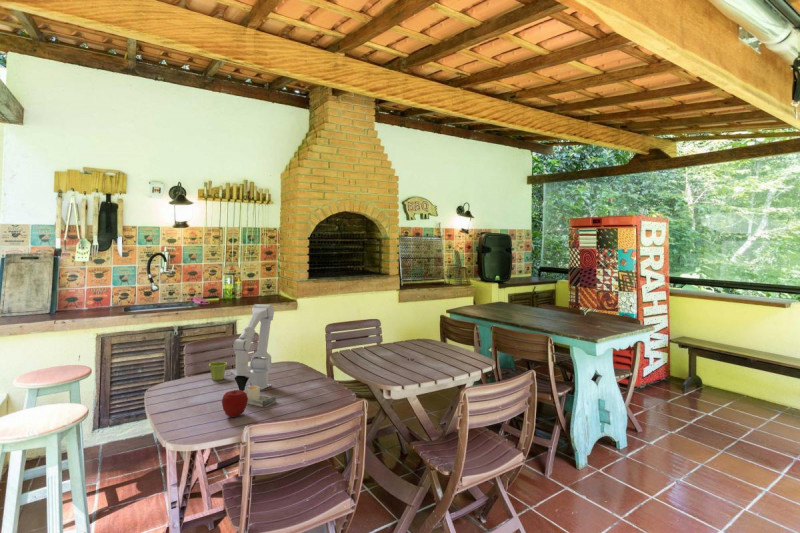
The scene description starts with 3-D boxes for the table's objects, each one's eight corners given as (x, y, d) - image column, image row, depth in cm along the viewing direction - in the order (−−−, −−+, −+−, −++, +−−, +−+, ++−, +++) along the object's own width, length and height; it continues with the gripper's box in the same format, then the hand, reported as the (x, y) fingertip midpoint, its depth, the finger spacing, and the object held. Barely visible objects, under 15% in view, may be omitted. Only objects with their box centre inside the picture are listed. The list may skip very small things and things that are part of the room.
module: (246, 400, 201) (246, 387, 201) (253, 397, 205) (253, 385, 205) (253, 402, 199) (253, 389, 199) (259, 399, 203) (259, 386, 203)
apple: (239, 422, 178) (239, 395, 178) (216, 419, 180) (216, 393, 179) (252, 412, 189) (252, 386, 188) (230, 410, 191) (230, 385, 190)
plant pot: (215, 376, 241) (214, 361, 241) (230, 376, 240) (230, 361, 239) (205, 381, 232) (205, 365, 231) (221, 382, 230) (221, 366, 230)
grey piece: (239, 402, 200) (239, 396, 200) (251, 397, 208) (251, 391, 207) (264, 407, 194) (264, 401, 194) (275, 402, 202) (275, 395, 201)
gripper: (224, 363, 203) (224, 391, 204) (247, 367, 198) (247, 395, 198) (235, 360, 210) (235, 386, 210) (257, 363, 204) (257, 391, 205)
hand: (241, 390), depth 205 cm, fingers closed
